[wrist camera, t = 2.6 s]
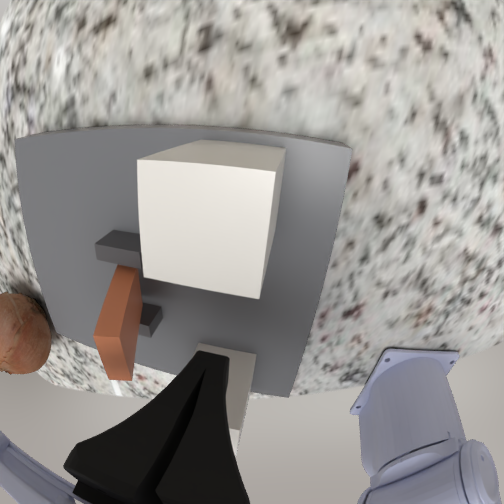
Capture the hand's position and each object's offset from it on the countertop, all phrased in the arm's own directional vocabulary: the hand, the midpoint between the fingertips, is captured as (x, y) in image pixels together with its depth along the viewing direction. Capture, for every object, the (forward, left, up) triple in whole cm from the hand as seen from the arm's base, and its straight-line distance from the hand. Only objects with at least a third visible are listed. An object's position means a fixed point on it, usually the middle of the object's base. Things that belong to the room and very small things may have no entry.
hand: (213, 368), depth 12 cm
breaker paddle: (0, +6, -4) cm, 8 cm away
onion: (-11, +24, -9) cm, 28 cm away
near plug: (+6, 0, -6) cm, 9 cm away
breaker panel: (0, +6, -8) cm, 11 cm away
